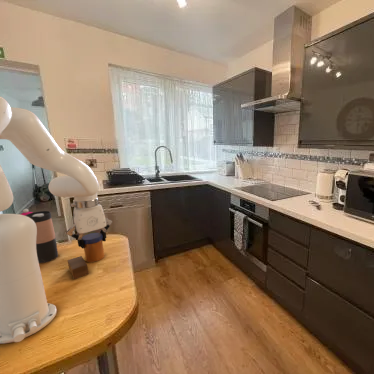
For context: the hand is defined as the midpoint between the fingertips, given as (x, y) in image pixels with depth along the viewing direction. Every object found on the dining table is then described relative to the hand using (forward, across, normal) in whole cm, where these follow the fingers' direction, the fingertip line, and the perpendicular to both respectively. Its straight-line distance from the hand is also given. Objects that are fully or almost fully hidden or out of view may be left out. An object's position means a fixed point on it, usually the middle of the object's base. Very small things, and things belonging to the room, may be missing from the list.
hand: (93, 243), depth 91 cm
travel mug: (+7, -12, +16) cm, 21 cm away
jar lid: (-3, 0, 0) cm, 3 cm away
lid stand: (+7, -8, -6) cm, 12 cm away
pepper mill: (+7, -14, +28) cm, 32 cm away
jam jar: (+7, 0, 0) cm, 7 cm away
